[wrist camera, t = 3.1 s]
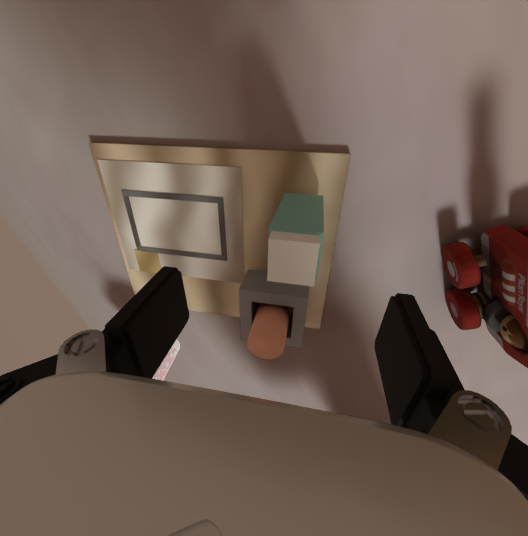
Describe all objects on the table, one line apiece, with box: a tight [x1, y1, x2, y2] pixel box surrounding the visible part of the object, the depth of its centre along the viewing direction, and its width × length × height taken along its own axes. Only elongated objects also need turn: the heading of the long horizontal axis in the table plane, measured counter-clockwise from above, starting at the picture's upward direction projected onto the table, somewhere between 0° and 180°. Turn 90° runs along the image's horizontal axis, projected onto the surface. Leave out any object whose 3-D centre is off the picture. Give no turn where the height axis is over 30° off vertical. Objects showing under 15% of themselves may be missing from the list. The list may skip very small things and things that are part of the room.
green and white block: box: [267, 193, 324, 287], centre depth 20 cm, size 3×3×11 cm
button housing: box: [239, 269, 309, 349], centre depth 29 cm, size 7×7×4 cm
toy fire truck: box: [442, 225, 528, 368], centre depth 21 cm, size 7×12×10 cm, turn 23°
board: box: [89, 142, 351, 329], centre depth 29 cm, size 25×20×1 cm
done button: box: [247, 303, 290, 360], centre depth 26 cm, size 4×4×5 cm
